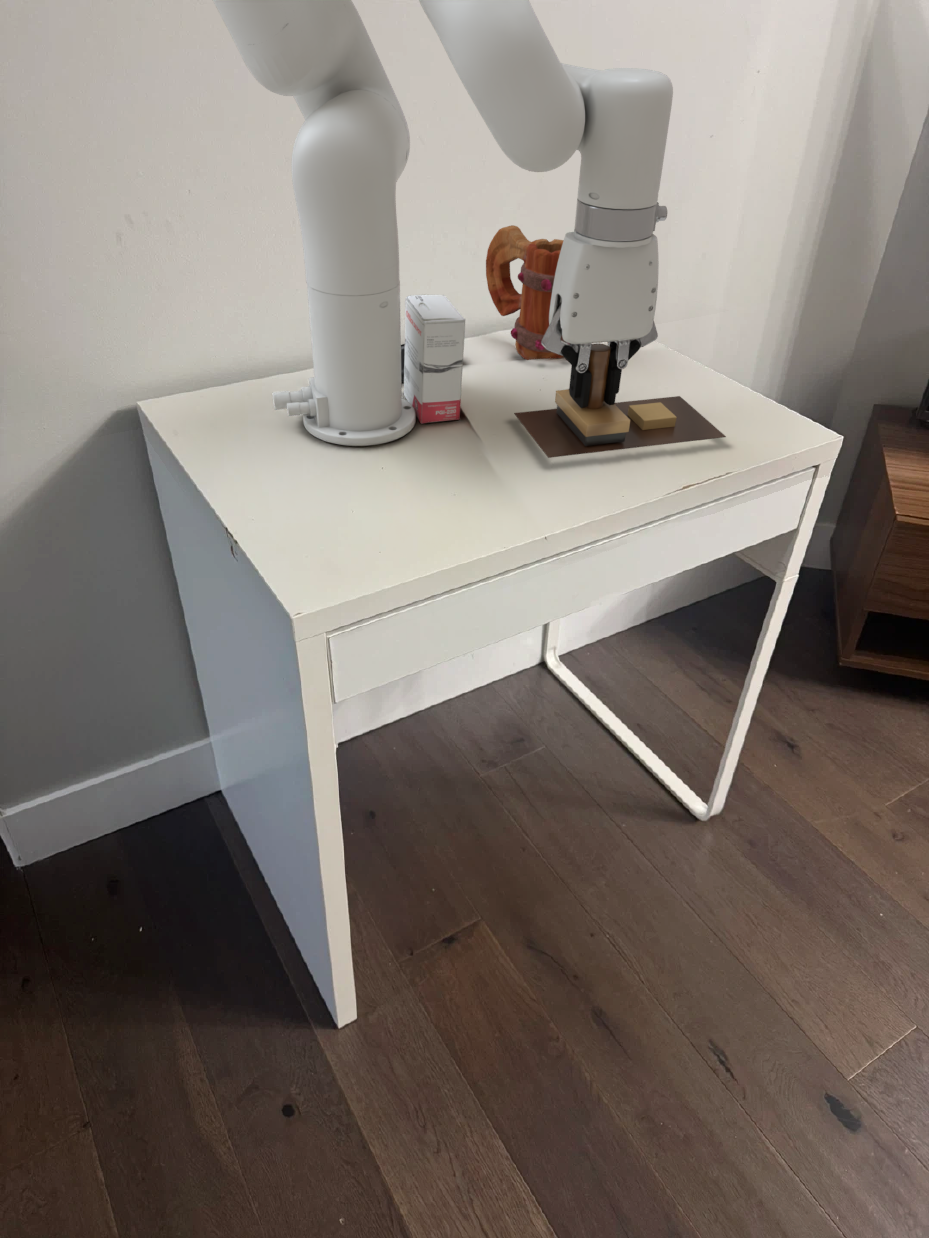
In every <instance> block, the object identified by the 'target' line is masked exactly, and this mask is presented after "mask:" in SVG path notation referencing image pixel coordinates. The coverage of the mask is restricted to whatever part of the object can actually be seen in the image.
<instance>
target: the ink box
mask: <svg viewBox="0 0 929 1238" xmlns="http://www.w3.org/2000/svg"><path fill="white" fill-rule="evenodd" d="M404 305H405V306H404V307H405V308H404V344H405V360H404V382H403V395H404V397H405V400H407V401H408V402H409V403H410V404H411V405H412V406H413V407H414V409H415V413H416V418H417V420H418V421H419V423H420V424H427V423H428V424H429V423H438V422H448V421H457V420H460V418H461V417H460V416H461V404H462V403H461V399H462V386H463V385H462V383H463V382H462V381H463V366H464V351H465V335H466V318H465V317H464V316H463V315H462V314H461V313H460V311H459V310H458V309H457V308H456V306H454V304H453V303H452V302H451V300H449V298H448V297H447V296H446V295H445V294H427V293H425V294H423V293H422V294H410V295H407V296H406V297H405V304H404Z"/></svg>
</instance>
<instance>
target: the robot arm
mask: <svg viewBox="0 0 929 1238" xmlns="http://www.w3.org/2000/svg"><path fill="white" fill-rule="evenodd" d="M212 2H213V4H214V6H215V8H216V9H217V12H218V14H219V15H220V17H221V19H222V21H223V23H224V25H225V27H226V29H227V31H228V33H229V35H230V37H231V39H232V41H233V43H234V44H235V47H236V48H237V51H238V53H239V56H240V57H241V59H242V61H243V63H244V65H245V66H246V68H247V69H248V71H249V72H250V74H251V75H252V76H253V78H254V80H256V81H257V83H258V84H260V85H261V86H263V87H264V88H265V89H266V90H267V91H269V92H272V93H274V94H275V95H279V96H283V97H293V99H294V101H295V103H296V105H297V107H298V108H299V111H300V112H301V114H302V116H303V118H304V122H303V123H302V124H301V126H300V128H299V130H298V132H297V134H296V137H295V140H294V143H293V147H292V153H291V170H290V171H291V182H292V189H293V195H294V200H295V206H296V210H297V215H298V221H299V227H300V234H301V235H300V236H301V244H302V251H303V262H304V263H303V264H304V273H305V274H304V275H305V283H306V291H307V306H308V317H309V330H310V331H309V332H310V340H311V355H312V367H313V368H312V369H313V377H308V385H307V386H301V387H300V390H293V391H289V390H282V391H281V390H279V391H272V393H271V395H272V404H273V409H274V411H277V410H278V411H279V410H286V411H287V417H295V416H300V415H302V420H303V421H302V422H303V426H304V428H305V430H306V431H307V432H308V433H309V434H311V435H312V436H314V437H315V438H317V439H319V440H322V441H323V442H326V443H331V444H333V445H340V446H350V447H367V446H368V447H369V446H376V445H381V444H386V443H389V442H393V441H396V440H398V439H400V438H402V437H404V436H405V435H407V434H408V433H410V432H411V431H412V429H414V427H415V425H416V418H417V416H416V413H415V409H414V407H413V406H412V405H411V404H410V403H409V402H408V401H407V399H406V398H403V397H402V396H403V395H402V394H403V393H402V391H403V390H402V389H403V388H402V382H401V345H402V334H401V333H402V332H401V330H402V329H401V326H402V325H401V324H402V323H401V322H402V321H401V280H400V279H401V278H400V247H399V230H398V217H397V216H398V215H397V200H396V199H397V196H396V194H397V193H396V192H397V182H398V180H399V179H400V178H401V176H402V174H403V172H404V171H405V169H406V166H407V164H408V161H409V156H410V151H411V136H410V129H409V126H408V122H407V120H406V119H407V118H406V116H405V113H404V110H403V108H402V105H401V104H400V101H399V99H398V97H397V95H396V93H395V91H394V88H393V86H392V83H391V81H390V79H389V77H388V75H387V73H386V69H385V68H384V66H383V64H382V62H381V59H380V57H379V55H378V53H377V51H376V48H375V46H374V44H373V41H372V40H371V37H370V35H369V32H368V30H367V28H366V26H365V24H364V22H363V20H362V18H361V14H360V13H359V11H358V9H357V8H356V6H355V4H354V3H353V0H212ZM418 2H419V4H420V7H421V8H422V10H423V12H424V14H425V15H426V17H427V19H428V20H429V22H430V24H431V25H432V28H433V29H434V31H435V33H436V35H437V36H438V39H439V41H440V43H441V44H442V47H443V49H444V51H445V52H446V55H447V56H448V57H447V58H448V59H449V60H450V63H451V65H452V66H453V68H454V70H455V72H456V74H457V76H458V78H459V80H460V81H461V83H462V85H463V87H464V89H465V90H466V92H467V94H468V95H469V98H470V99H471V101H472V103H473V105H474V106H475V107H476V110H477V111H478V113H479V115H480V116H481V118H482V120H483V121H484V123H485V125H486V127H487V129H488V130H489V132H490V133H491V135H492V137H493V139H494V140H495V142H496V144H497V145H498V147H499V148H500V150H501V151H502V152H503V154H504V155H505V156H506V157H507V158H508V159H509V160H510V161H511V162H512V163H513V165H515V166H518V167H519V168H521V169H523V170H525V171H528V172H534V173H545V172H546V173H547V172H551V171H553V170H555V169H558V168H560V167H562V166H563V165H564V164H565V163H567V162H568V161H569V160H570V159H571V158H572V157H573V155H574V154H575V153H576V152H577V151H578V152H579V154H580V167H579V178H578V187H577V197H576V208H575V217H574V227H573V231H569V232H566V233H565V235H564V238H563V240H564V241H563V244H562V248H561V251H560V255H559V259H558V263H557V268H556V273H555V278H554V284H553V289H552V296H551V303H550V311H549V327H548V329H547V331H546V333H545V335H544V337H543V339H542V341H541V343H542V345H543V346H544V347H545V348H546V349H547V350H549V351H551V352H553V353H556V354H558V355H561V356H564V357H563V358H564V359H565V361H567V362H568V363H569V364H570V365H571V368H570V378H569V387H568V389H569V394H570V396H571V397H572V399H573V400H574V401H575V402H576V403H577V404H578V405H579V407H580V408H586V407H587V406H588V404H589V395H590V387H591V378H592V374H591V372H590V371H589V370H588V364H589V357H590V351H591V345H592V344H595V343H599V344H601V343H607V345H608V346H609V347H610V357H609V365H608V373H607V380H606V388H605V396H604V402H605V403H606V404H608V405H614V404H615V403H616V397H617V395H618V394H619V391H620V386H621V379H622V370H624V369H626V368H627V366H628V363H629V361H630V359H631V358H632V357H634V356H635V355H636V354H637V353H638V352H639V350H640V349H641V348H644V347H646V346H647V345H650V344H651V343H653V342H655V341H656V340H657V339H658V337H659V333H658V330H657V327H656V323H655V316H656V309H657V299H658V288H659V265H660V264H659V243H658V237H657V236H656V235H655V234H654V232H655V231H656V224H657V223H659V222H664V221H666V220H667V217H668V208H667V206H666V205H660V204H659V203H660V202H658V200H659V191H660V187H661V180H662V175H663V174H662V173H663V166H664V159H665V152H666V146H667V139H668V133H669V126H670V119H671V118H670V117H671V112H672V106H673V98H674V97H673V96H674V87H673V82H672V81H671V79H670V77H669V76H668V75H667V74H665V73H663V72H661V71H657V70H653V69H646V68H639V67H638V68H637V67H613V68H607V69H603V70H602V69H595V68H588V67H582V66H577V65H572V64H568V63H563V62H561V61H560V59H559V57H558V55H557V53H556V51H555V50H554V47H553V46H552V44H551V42H550V40H549V38H548V36H547V34H546V32H545V30H544V29H543V26H542V25H541V23H540V21H539V18H538V16H537V14H536V12H535V11H534V8H533V6H532V4H531V1H530V0H418ZM561 336H562V337H563V340H564V341H561ZM565 341H566V342H565ZM568 343H570V345H569V344H568Z"/></svg>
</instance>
